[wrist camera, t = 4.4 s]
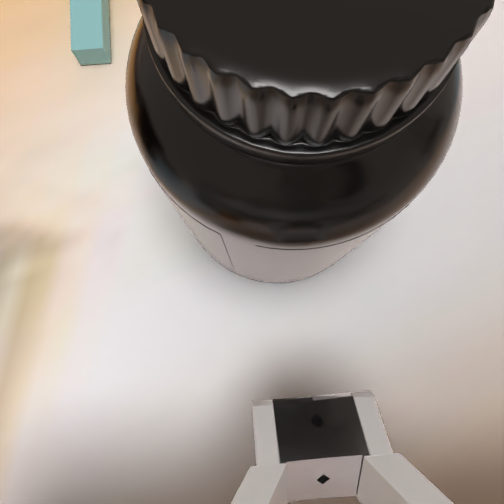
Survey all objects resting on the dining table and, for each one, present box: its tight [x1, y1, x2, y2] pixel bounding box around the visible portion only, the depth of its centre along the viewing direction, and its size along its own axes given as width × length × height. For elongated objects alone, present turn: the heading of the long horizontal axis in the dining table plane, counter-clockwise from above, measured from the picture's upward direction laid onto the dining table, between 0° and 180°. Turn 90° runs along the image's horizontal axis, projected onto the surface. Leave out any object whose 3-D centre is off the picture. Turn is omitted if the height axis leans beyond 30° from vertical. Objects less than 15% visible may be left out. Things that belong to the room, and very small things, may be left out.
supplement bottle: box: [125, 0, 494, 283], centre depth 11 cm, size 7×7×12 cm
